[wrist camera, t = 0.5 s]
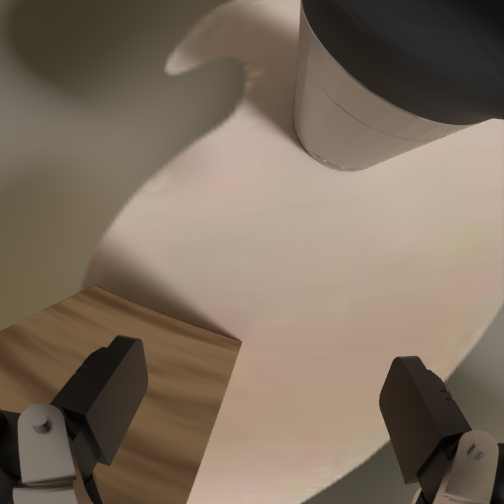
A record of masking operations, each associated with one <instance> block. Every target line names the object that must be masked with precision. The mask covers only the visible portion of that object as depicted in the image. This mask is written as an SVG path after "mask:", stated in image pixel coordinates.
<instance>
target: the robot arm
mask: <svg viewBox="0 0 504 504" xmlns="http://www.w3.org/2000/svg"><path fill="white" fill-rule="evenodd" d="M492 118H496V119H503V120H504V0H301V3H300V24H299V49H298V65H297V80H296V94H295V106H294V125H295V131H296V133H297V136H298V139H299V141H300V142H301V144H302V146H303V147H304V149H305V150H306V151H307V152H308V153H309V154H310V155H311V156H312V157H313V158H314V159H316V160H317V161H318V162H320V163H321V164H323V165H325V166H328V167H330V168H332V169H336V170H341V171H357V170H362V169H365V168H368V167H370V166H373V165H375V164H378V163H381V162H383V161H386V160H388V159H390V158H393V157H395V156H398V155H400V154H403V153H405V152H407V151H410V150H412V149H415V148H417V147H420V146H422V145H425V144H427V143H430V142H432V141H435V140H438V139H440V138H443V137H445V136H447V135H450V134H452V133H455V132H457V131H460V130H463V129H465V128H468V127H470V126H473V125H476V124H478V123H481V122H483V121H486V120H489V119H492ZM147 387H148V372H147V366H146V360H145V353H144V347H143V342H142V340H141V339H139V338H134V337H128V336H123V335H117V336H116V337H115V338H114V340H113V341H112V342H111V343H110V345H109V346H108V347H107V348H106V347H101V348H99V349H98V350H96V351H94V352H93V353H91V354H90V355H89V356H88V357H87V358H86V359H85V361H84V362H83V363H82V366H80V367H79V368H78V369H77V370H76V372H75V374H73V375H72V377H71V378H70V379H69V380H68V381H67V383H66V384H65V385H64V386H63V388H62V389H61V390H60V391H59V393H58V394H57V395H56V397H55V398H54V399H53V400H52V402H51V403H50V404H35V405H32V406H30V407H28V408H27V409H25V410H24V411H23V412H22V413H16V412H10V411H5V410H1V409H0V504H106V503H105V500H104V498H103V495H102V492H101V490H100V487H99V484H98V481H97V478H96V475H95V472H94V468H95V466H96V464H97V462H98V463H101V464H104V465H107V466H111V463H112V461H113V459H114V457H115V455H116V453H117V451H118V449H119V447H120V444H121V442H122V440H123V438H124V436H125V434H126V432H127V430H128V428H129V426H130V424H131V422H132V420H133V418H134V416H135V414H136V412H137V410H138V408H139V406H140V404H141V402H142V400H143V398H144V396H145V393H146V391H147ZM379 405H380V410H381V413H382V416H383V419H384V421H385V424H386V427H387V430H388V433H389V436H390V438H391V441H392V444H393V447H394V450H395V453H396V456H397V459H398V462H399V465H400V468H401V472H402V475H403V478H404V481H405V484H406V485H407V484H411V483H416V482H419V483H420V486H421V487H420V488H419V490H418V491H417V493H416V494H415V497H414V499H413V501H412V503H411V504H504V443H497V442H496V441H495V439H494V438H493V437H492V436H491V435H489V434H488V433H486V432H483V431H479V430H472V429H471V427H470V426H469V424H468V422H467V420H466V419H465V417H464V415H463V414H462V412H461V411H460V409H459V407H458V405H457V404H456V402H455V401H454V400H452V396H451V394H450V392H449V391H447V388H446V386H445V385H444V383H443V381H442V380H441V378H439V377H438V376H437V375H436V374H434V373H433V372H432V371H431V370H427V369H426V367H425V366H424V364H423V363H422V361H421V359H420V358H419V357H418V356H407V357H396V358H395V359H394V360H393V362H392V364H391V367H390V370H389V372H388V375H387V378H386V380H385V383H384V385H383V388H382V390H381V393H380V398H379Z"/></svg>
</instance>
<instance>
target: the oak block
mask: <svg viewBox="0 0 504 504" xmlns="http://www.w3.org/2000/svg"><path fill="white" fill-rule="evenodd" d="M117 335H123V336H128V337H134V338H139V339H141V340H142V342H143V347H144V353H145V360H146V366H147V372H148V387H147V391H146V393H145V396H144V398H143V400H142V402H141V404H140V406H139V408H138V410H137V412H136V414H135V416H134V418H133V420H132V422H131V424H130V426H129V428H128V430H127V432H126V434H125V436H124V438H123V440H122V442H121V444H120V447H119V449H118V451H117V453H116V455H115V457H114V459H113V461H112V463H111V466H107V465H104V464H101V463H98V462H97V464H96V466H95V468H94V472H95V475H96V478H97V481H98V484H99V487H100V490H101V492H102V495H103V498H104V500H105V503H106V504H186V503H187V501H188V498H189V495H190V492H191V490H192V487H193V484H194V481H195V478H196V476H197V473H198V470H199V467H200V464H201V462H202V459H203V456H204V453H205V450H206V447H207V444H208V442H209V439H210V436H211V433H212V430H213V427H214V424H215V421H216V418H217V415H218V413H219V410H220V407H221V404H222V401H223V398H224V395H225V392H226V389H227V386H228V383H229V380H230V377H231V374H232V371H233V368H234V365H235V362H236V359H237V356H238V353H239V350H240V347H241V343H242V342H241V341H238V340H235V339H232V338H229V337H225V336H222V335H219V334H217V333H214V332H211V331H208V330H205V329H202V328H199V327H196V326H194V325H191V324H188V323H185V322H182V321H180V320H177V319H174V318H172V317H169V316H166V315H164V314H161V313H159V312H156V311H154V310H151V309H148V308H146V307H143V306H141V305H139V304H136V303H134V302H131V301H129V300H126V299H124V298H122V297H119V296H117V295H115V294H112V293H110V292H108V291H105V290H103V289H101V288H99V287H96V286H93V287H90V288H88V289H86V290H84V291H82V292H80V293H78V294H76V295H73V296H71V297H69V298H67V299H65V300H63V301H61V302H59V303H57V304H55V305H52V306H51V307H48V308H46V309H44V310H42V311H40V312H38V313H36V314H34V315H32V316H30V317H28V318H26V319H24V320H22V321H20V322H18V323H16V324H14V325H12V326H10V327H8V328H6V329H4V330H2V331H0V409H1V410H5V411H10V412H16V413H22V412H23V411H24V410H25V409H27V408H28V407H30V406H32V405H35V404H50V403H51V402H52V400H53V399H54V398H55V397H56V395H57V394H58V393H59V391H60V390H61V389H62V388H63V386H64V385H65V384H66V383H67V381H68V380H69V379H70V378H71V377H72V375H73V374H75V372H76V370H77V369H78V368H79V367H80V366H82V363H83V362H84V361H85V359H86V358H87V357H88V356H89V355H90V354H91V353H93V352H94V351H96V350H98V349H99V348H101V347H106V348H107V347H108V346H109V345H110V343H111V342H112V341H113V340H114V338H115V337H116V336H117Z"/></svg>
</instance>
